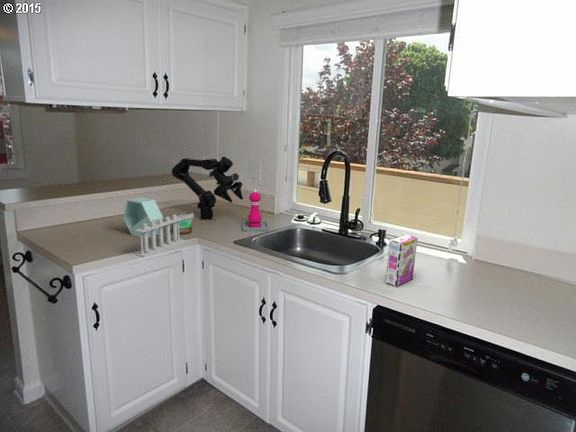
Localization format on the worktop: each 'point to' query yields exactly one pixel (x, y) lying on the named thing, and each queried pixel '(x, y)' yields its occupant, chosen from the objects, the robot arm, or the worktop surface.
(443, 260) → the worktop surface
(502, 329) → the worktop surface
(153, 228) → the test tube rack
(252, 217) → the pink bowling pin
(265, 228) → the slate tray
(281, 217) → the worktop surface
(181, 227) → the food container
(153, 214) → the planter
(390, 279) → the candy bar box
